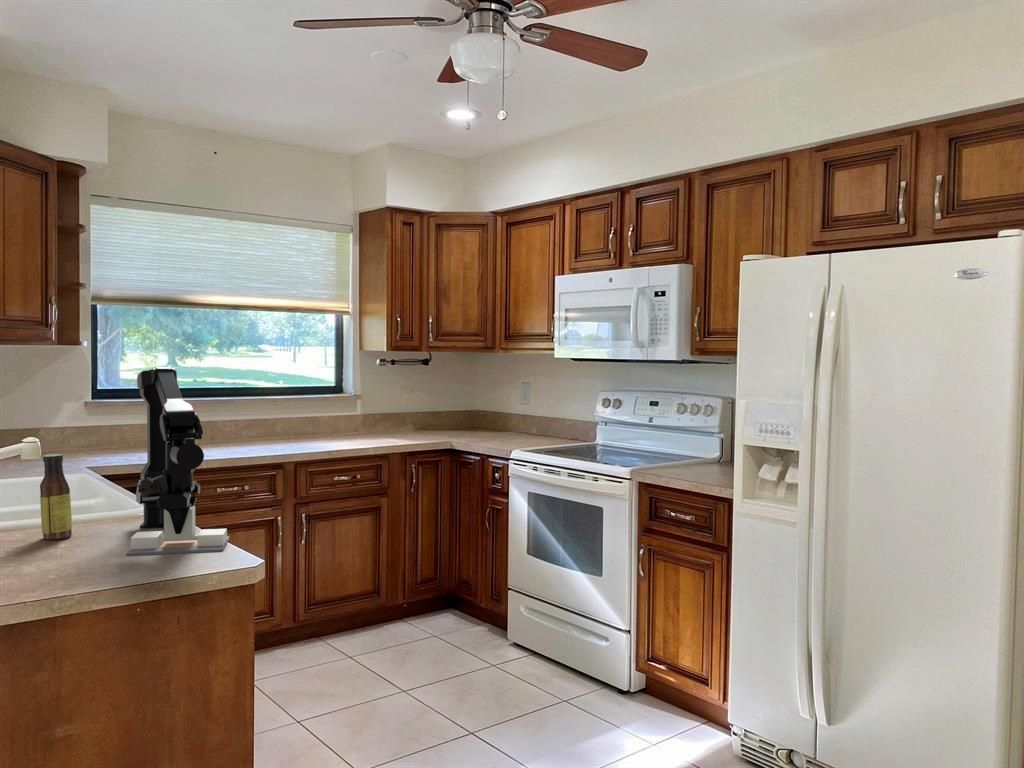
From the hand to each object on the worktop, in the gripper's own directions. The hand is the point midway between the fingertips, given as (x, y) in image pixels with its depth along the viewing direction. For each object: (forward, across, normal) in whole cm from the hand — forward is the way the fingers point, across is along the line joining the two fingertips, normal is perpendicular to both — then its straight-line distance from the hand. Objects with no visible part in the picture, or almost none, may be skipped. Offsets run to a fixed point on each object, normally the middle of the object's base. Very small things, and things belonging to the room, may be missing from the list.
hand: (179, 531), depth 181 cm
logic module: (+2, 0, 0) cm, 2 cm away
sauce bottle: (+4, -14, -30) cm, 33 cm away
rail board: (+4, 0, 0) cm, 4 cm away
